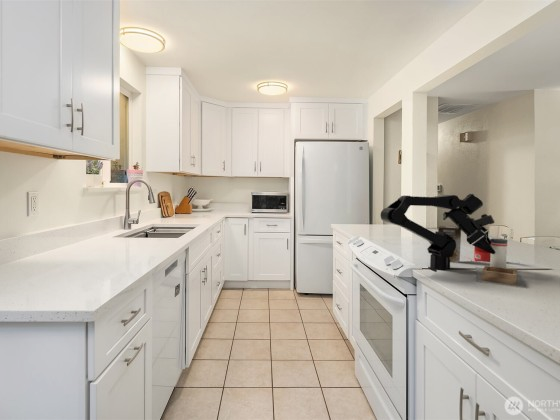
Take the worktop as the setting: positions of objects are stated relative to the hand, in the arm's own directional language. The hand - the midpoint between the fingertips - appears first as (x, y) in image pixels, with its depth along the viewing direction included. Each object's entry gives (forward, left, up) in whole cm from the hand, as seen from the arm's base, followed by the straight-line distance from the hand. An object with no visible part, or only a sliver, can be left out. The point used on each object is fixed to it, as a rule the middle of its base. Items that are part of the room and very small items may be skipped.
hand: (495, 251), depth 118 cm
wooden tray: (-6, -9, -8) cm, 14 cm away
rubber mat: (-3, -5, -9) cm, 11 cm away
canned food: (+13, +21, -9) cm, 27 cm away
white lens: (0, -1, -8) cm, 8 cm away
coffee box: (-4, +22, -9) cm, 24 cm away
